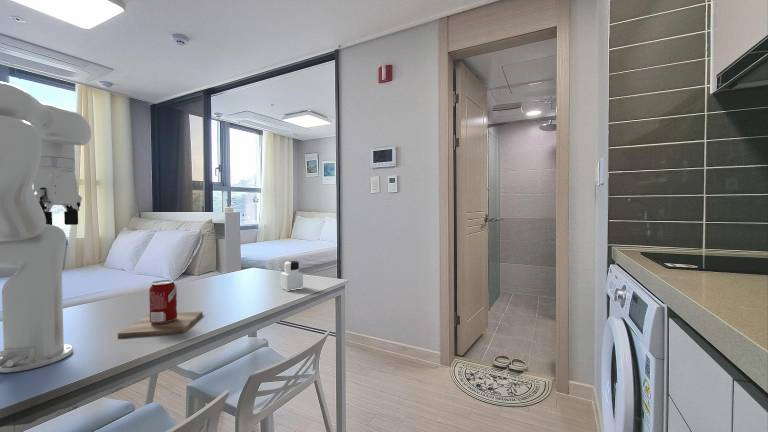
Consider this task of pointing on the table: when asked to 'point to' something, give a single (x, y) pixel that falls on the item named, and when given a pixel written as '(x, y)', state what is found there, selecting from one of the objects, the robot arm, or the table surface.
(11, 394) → the table surface
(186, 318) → the walnut board
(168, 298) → the soda can
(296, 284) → the white security camera
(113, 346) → the table surface
